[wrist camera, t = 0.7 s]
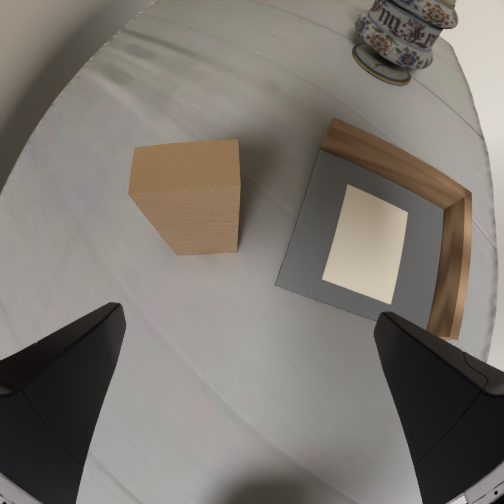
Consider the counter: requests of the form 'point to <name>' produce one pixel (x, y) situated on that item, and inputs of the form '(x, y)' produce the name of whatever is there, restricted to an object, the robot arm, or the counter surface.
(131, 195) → the wooden l-shaped block
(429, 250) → the mat
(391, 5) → the apothecary jar
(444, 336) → the corner walls
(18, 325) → the counter surface
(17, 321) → the counter surface
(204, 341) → the counter surface
